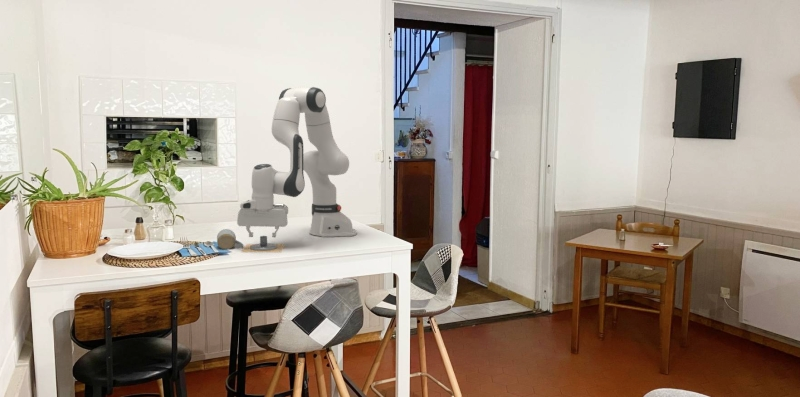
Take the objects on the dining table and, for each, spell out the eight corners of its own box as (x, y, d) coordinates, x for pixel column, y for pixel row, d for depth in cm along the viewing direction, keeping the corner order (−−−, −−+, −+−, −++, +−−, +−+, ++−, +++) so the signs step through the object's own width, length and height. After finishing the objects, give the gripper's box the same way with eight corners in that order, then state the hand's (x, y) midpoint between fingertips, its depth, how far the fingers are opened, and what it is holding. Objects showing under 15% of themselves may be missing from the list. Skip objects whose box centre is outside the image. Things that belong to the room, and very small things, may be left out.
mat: (285, 245, 264) (285, 243, 264) (281, 253, 248) (281, 252, 248) (247, 245, 262) (247, 243, 262) (240, 253, 246) (240, 252, 246)
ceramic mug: (217, 251, 250) (217, 232, 249) (217, 246, 258) (216, 228, 257) (243, 250, 253) (243, 232, 252) (243, 246, 261) (243, 228, 260)
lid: (278, 245, 261) (278, 233, 260) (275, 250, 250) (275, 239, 250) (251, 245, 260) (251, 234, 259) (248, 250, 249) (248, 239, 248)
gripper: (288, 203, 256) (288, 235, 258) (239, 202, 255) (239, 235, 256) (287, 205, 250) (287, 238, 252) (236, 204, 248) (236, 238, 250)
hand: (262, 237), depth 254 cm, fingers open, 8 cm apart
